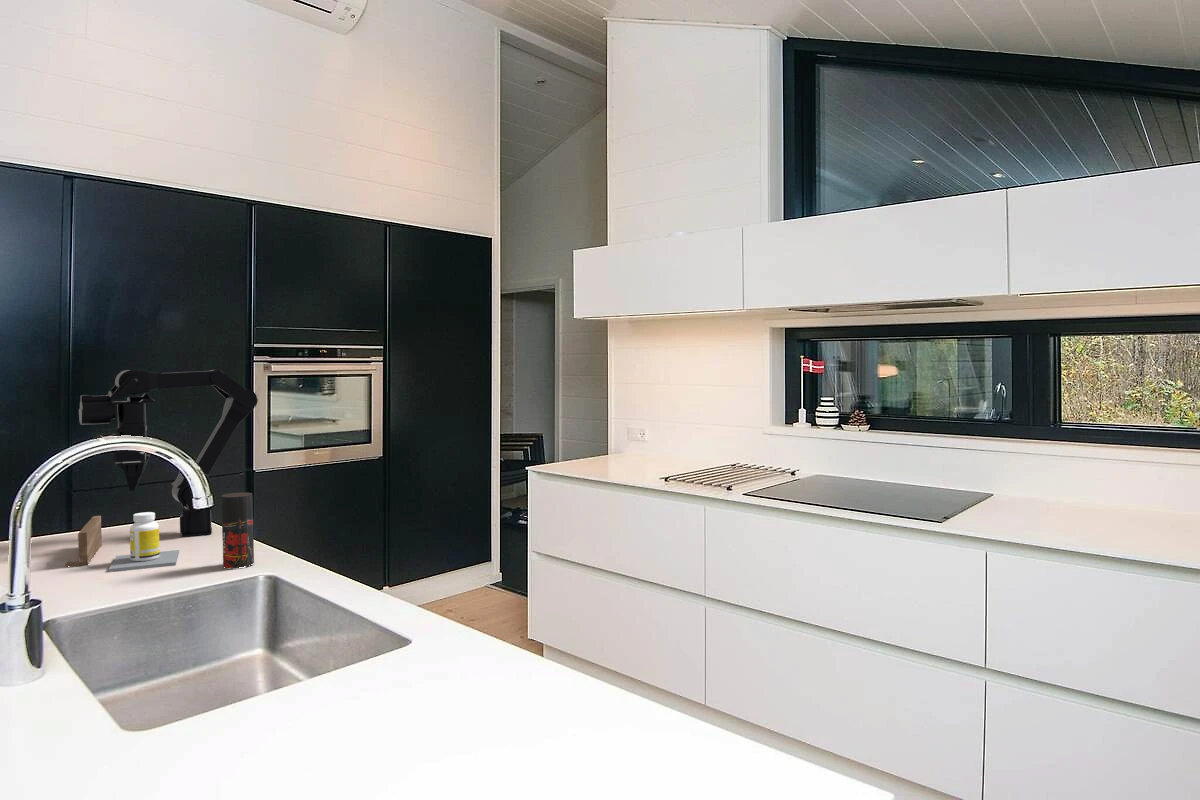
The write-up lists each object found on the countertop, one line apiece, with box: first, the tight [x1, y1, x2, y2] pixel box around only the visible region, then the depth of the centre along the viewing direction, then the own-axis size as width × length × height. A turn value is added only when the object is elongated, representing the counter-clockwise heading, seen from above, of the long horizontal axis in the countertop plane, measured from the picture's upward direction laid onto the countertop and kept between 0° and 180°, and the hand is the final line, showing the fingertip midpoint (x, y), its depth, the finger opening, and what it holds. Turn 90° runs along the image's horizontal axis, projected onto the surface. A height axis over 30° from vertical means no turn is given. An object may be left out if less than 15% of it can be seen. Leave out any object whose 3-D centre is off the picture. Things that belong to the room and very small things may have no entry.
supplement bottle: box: [129, 511, 161, 561], centre depth 164 cm, size 5×5×10 cm
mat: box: [108, 549, 180, 573], centre depth 164 cm, size 12×12×1 cm
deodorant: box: [221, 492, 255, 569], centre depth 161 cm, size 6×6×15 cm
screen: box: [64, 515, 103, 568], centre depth 169 cm, size 4×20×7 cm, turn 26°
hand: (134, 487), depth 182 cm, fingers open, 9 cm apart
